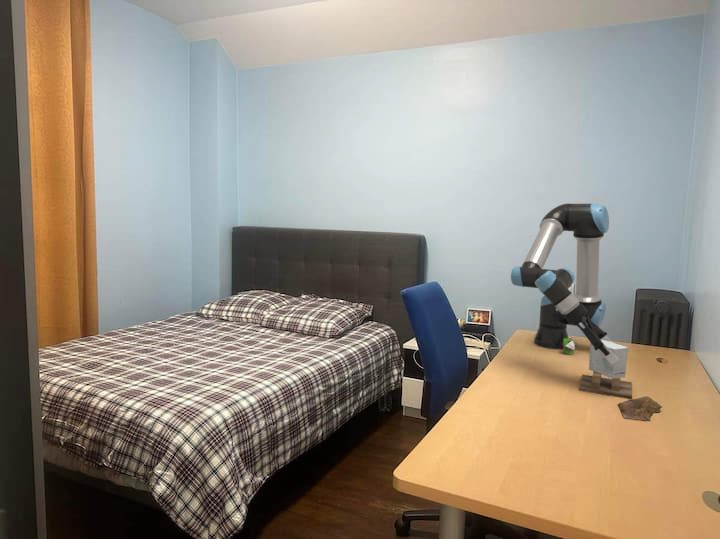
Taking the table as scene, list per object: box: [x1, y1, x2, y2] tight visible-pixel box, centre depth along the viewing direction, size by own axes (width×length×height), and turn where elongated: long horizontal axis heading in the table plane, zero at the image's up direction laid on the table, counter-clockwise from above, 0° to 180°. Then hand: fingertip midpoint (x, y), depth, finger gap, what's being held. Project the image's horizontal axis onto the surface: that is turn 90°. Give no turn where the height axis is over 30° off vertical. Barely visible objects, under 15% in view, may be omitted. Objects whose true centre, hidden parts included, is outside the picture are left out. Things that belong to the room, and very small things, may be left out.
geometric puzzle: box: [559, 337, 579, 355], centre depth 218 cm, size 7×7×8 cm
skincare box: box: [588, 339, 629, 379], centre depth 175 cm, size 10×6×10 cm, turn 21°
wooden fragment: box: [617, 395, 663, 422], centre depth 158 cm, size 26×11×1 cm, turn 135°
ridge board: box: [578, 371, 633, 400], centre depth 176 cm, size 16×16×5 cm
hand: (615, 357), depth 174 cm, fingers open, 13 cm apart
